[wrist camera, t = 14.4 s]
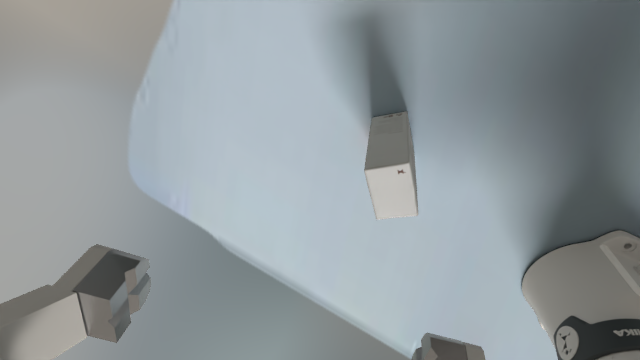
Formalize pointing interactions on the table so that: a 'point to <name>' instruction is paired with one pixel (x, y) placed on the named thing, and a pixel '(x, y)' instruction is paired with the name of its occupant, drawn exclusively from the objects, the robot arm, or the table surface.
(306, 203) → the table surface
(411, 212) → the skincare box
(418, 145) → the table surface
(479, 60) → the table surface
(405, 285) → the table surface
